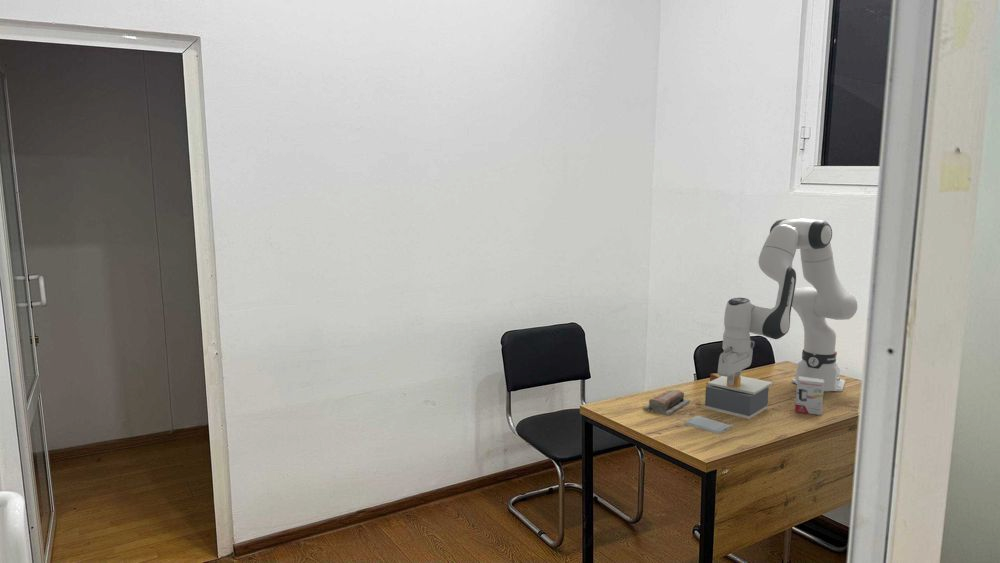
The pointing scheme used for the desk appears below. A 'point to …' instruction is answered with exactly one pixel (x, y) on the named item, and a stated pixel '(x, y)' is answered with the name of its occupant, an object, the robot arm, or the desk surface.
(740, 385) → the lid flap
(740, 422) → the desk surface
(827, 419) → the desk surface
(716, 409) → the charcoal box
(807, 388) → the ink box
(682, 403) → the packaged product
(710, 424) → the hard drive
